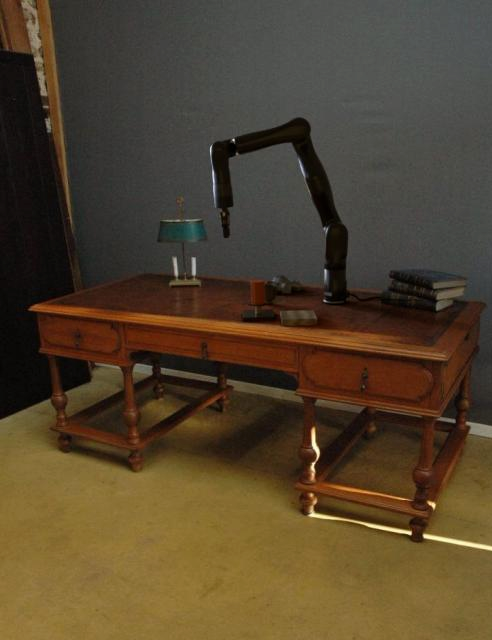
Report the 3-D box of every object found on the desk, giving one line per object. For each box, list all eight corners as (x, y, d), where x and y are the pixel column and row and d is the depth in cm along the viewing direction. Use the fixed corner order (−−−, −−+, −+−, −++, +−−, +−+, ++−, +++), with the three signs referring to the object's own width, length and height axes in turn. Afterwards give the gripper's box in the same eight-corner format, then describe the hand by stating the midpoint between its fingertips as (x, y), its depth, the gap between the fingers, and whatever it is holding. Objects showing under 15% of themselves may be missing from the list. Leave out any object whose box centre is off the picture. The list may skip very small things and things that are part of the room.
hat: (267, 301, 261) (267, 278, 257) (268, 306, 253) (268, 282, 250) (247, 301, 260) (247, 279, 257) (248, 306, 253) (247, 283, 250)
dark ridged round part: (275, 306, 274) (275, 287, 271) (258, 305, 276) (257, 286, 273) (278, 302, 281) (278, 283, 278) (261, 301, 282) (261, 283, 279)
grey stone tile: (313, 316, 258) (313, 310, 257) (317, 325, 246) (317, 318, 245) (280, 317, 258) (280, 311, 257) (282, 326, 245) (282, 319, 245)
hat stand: (272, 312, 264) (272, 279, 259) (274, 320, 253) (274, 285, 248) (243, 313, 264) (241, 280, 259) (243, 321, 253) (242, 286, 248)
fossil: (279, 277, 312) (297, 263, 300) (291, 297, 313) (309, 285, 300) (253, 289, 302) (270, 276, 290) (265, 310, 303) (282, 298, 290)
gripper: (232, 195, 254) (235, 238, 260) (233, 193, 268) (236, 234, 273) (212, 196, 254) (216, 239, 260) (215, 195, 268) (218, 235, 273)
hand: (226, 236), depth 266 cm, fingers open, 8 cm apart
